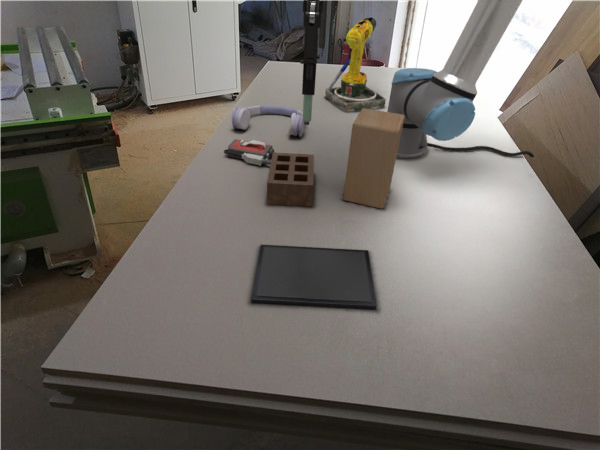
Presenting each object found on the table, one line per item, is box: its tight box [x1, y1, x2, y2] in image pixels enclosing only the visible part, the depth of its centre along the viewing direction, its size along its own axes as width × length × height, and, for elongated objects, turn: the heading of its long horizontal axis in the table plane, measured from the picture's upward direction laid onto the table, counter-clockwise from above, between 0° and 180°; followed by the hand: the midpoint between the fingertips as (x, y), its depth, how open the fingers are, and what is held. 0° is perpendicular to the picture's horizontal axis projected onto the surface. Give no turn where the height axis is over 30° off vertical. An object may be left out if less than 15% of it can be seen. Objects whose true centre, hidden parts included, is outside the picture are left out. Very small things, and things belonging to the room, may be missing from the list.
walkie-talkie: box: [223, 138, 275, 167], centre depth 112 cm, size 9×4×20 cm
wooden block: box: [342, 108, 405, 209], centre depth 95 cm, size 10×10×20 cm
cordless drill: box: [324, 16, 387, 112], centre depth 145 cm, size 18×19×28 cm
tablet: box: [250, 244, 377, 310], centre depth 77 cm, size 22×15×1 cm
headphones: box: [231, 104, 306, 138], centre depth 131 cm, size 22×7×20 cm
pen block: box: [266, 151, 315, 208], centre depth 100 cm, size 11×15×6 cm
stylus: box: [302, 95, 314, 126], centre depth 89 cm, size 2×2×17 cm
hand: (308, 92), depth 89 cm, fingers closed on stylus, 2 cm apart
